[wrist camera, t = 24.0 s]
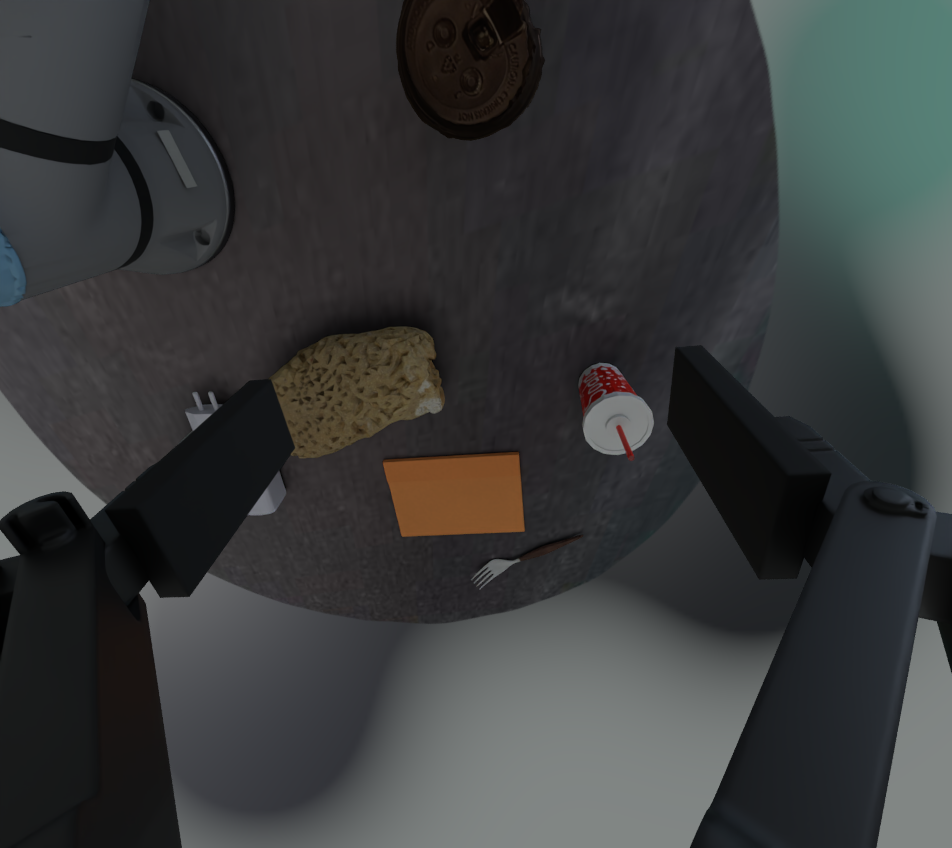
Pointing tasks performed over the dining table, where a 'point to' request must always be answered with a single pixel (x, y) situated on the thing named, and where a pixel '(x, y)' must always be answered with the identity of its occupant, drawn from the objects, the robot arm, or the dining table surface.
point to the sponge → (356, 387)
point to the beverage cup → (612, 411)
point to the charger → (276, 487)
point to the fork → (520, 559)
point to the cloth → (457, 494)
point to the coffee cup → (468, 63)
